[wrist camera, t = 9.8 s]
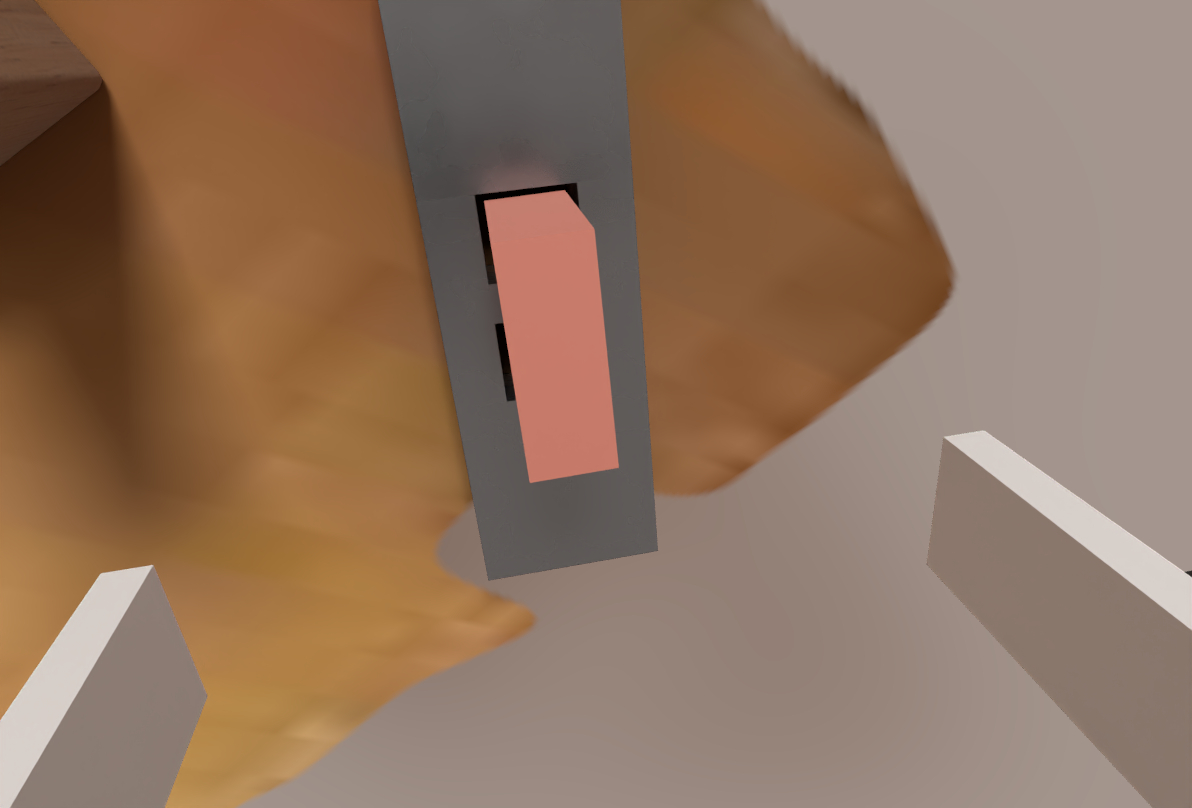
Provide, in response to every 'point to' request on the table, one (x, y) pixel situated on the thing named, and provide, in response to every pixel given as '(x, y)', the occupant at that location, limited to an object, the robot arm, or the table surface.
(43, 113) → the wooden block
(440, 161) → the rail
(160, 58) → the table surface
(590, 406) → the pink slab
